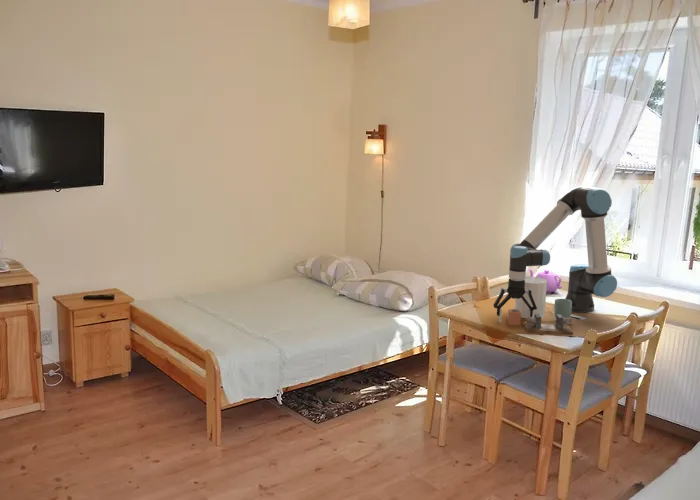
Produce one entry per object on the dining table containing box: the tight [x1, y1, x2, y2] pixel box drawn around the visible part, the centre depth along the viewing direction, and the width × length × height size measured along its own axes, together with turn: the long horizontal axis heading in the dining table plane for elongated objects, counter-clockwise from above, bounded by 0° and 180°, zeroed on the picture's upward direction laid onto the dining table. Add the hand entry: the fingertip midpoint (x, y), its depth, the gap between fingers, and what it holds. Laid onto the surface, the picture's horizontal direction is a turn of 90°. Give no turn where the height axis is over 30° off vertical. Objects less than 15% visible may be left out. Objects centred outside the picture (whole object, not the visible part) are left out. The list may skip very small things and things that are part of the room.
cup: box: [553, 298, 572, 320], centre depth 296 cm, size 8×8×10 cm
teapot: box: [527, 268, 563, 295], centre depth 350 cm, size 20×14×12 cm
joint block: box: [507, 308, 522, 326], centre depth 291 cm, size 5×5×7 cm
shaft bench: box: [523, 314, 574, 335], centre depth 282 cm, size 20×11×7 cm, turn 85°
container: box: [514, 276, 547, 319], centre depth 304 cm, size 14×14×18 cm
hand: (513, 322), depth 292 cm, fingers open, 13 cm apart
